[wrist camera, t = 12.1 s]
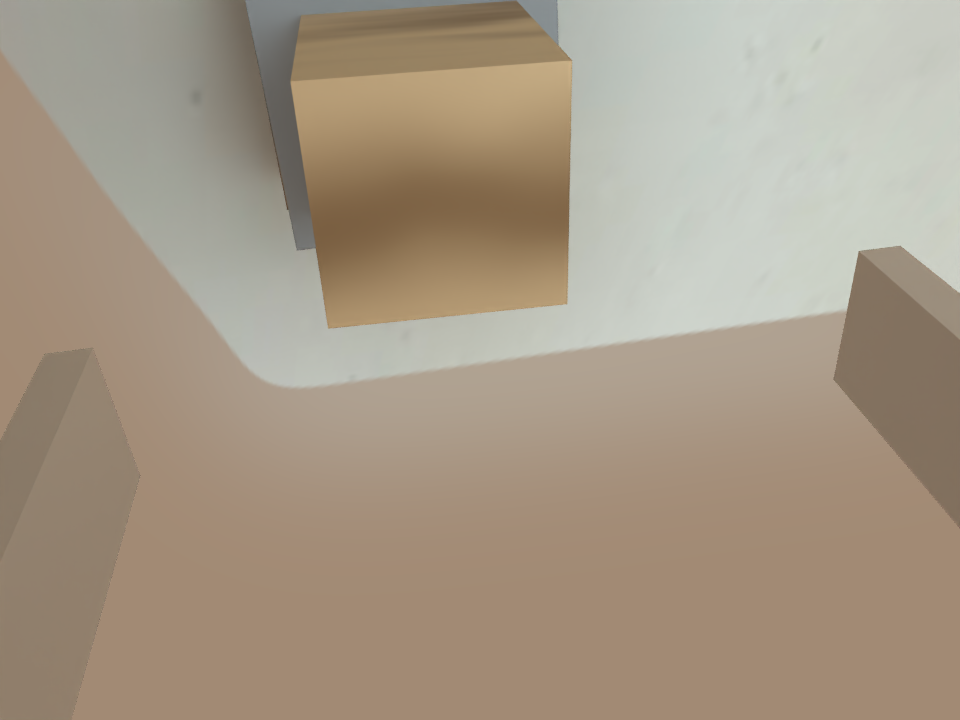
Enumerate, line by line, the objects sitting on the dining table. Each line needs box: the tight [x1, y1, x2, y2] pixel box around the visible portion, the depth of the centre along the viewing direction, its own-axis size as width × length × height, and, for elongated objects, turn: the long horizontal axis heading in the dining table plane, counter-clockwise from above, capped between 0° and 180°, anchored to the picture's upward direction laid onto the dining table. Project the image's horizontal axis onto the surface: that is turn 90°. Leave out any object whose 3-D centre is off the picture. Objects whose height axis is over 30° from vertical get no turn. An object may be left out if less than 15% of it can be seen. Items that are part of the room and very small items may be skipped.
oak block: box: [290, 1, 572, 329], centre depth 27 cm, size 7×7×8 cm
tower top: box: [245, 0, 558, 250], centre depth 32 cm, size 10×10×5 cm
